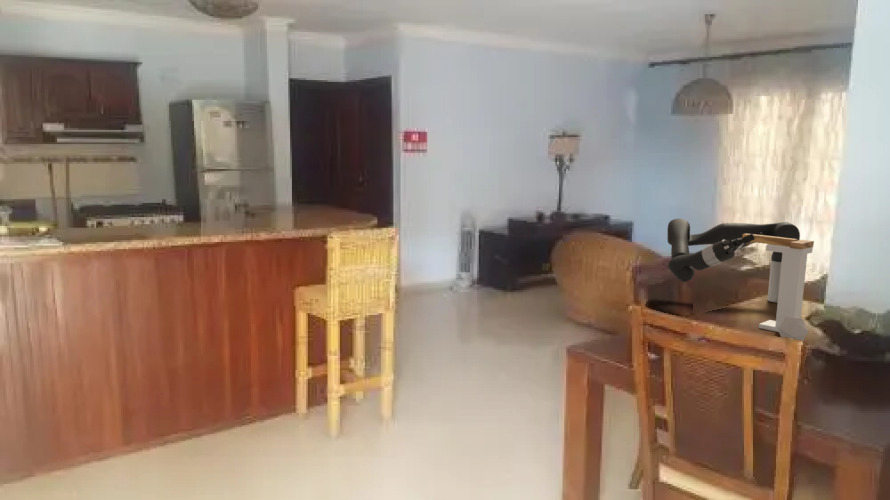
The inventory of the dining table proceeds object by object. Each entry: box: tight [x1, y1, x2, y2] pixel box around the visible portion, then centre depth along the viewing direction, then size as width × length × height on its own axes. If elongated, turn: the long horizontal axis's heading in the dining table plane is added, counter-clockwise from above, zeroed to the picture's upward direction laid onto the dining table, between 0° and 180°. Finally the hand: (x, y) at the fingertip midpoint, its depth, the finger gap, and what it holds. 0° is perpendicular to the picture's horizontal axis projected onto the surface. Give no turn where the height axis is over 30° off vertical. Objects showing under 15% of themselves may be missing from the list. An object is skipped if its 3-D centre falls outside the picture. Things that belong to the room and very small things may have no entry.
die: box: [778, 317, 809, 342], centre depth 226 cm, size 8×9×10 cm
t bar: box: [742, 233, 815, 249], centre depth 241 cm, size 10×22×2 cm, turn 42°
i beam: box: [758, 244, 814, 333], centre depth 240 cm, size 9×12×30 cm
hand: (757, 235), depth 245 cm, fingers open, 7 cm apart
